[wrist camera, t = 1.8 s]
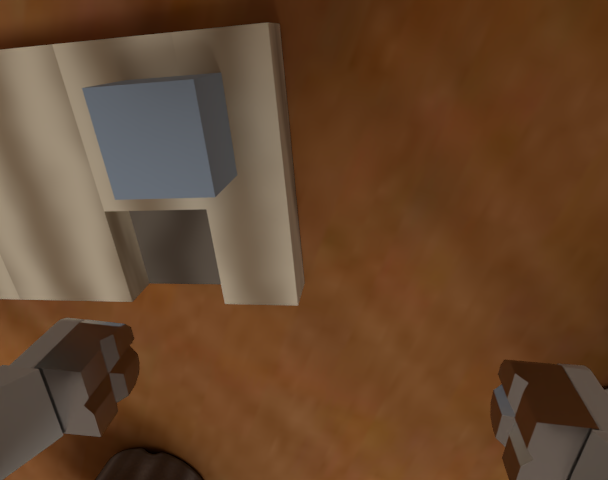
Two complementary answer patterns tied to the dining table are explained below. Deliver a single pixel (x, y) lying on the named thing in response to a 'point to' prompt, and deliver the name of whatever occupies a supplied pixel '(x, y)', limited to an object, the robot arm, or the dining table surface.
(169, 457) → the plant pot
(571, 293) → the dining table surface
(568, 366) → the robot arm
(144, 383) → the dining table surface
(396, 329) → the dining table surface
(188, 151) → the slate block
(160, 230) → the wooden cutout board
